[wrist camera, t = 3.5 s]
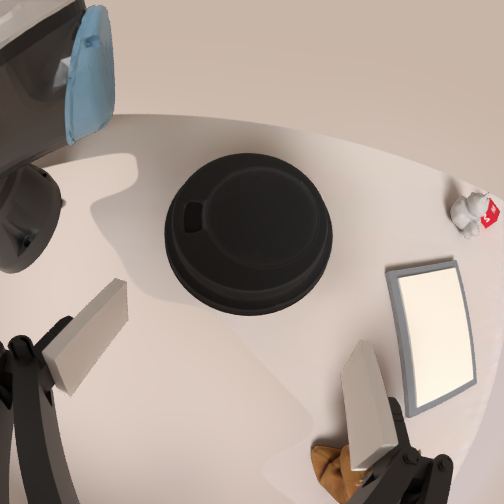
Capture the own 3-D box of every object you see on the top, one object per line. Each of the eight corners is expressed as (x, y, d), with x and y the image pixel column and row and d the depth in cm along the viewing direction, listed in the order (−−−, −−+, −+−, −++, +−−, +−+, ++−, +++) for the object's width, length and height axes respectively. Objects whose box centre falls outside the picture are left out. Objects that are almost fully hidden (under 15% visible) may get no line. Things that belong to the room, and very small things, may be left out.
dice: (479, 206, 34) (490, 197, 32) (489, 219, 34) (500, 211, 31) (475, 214, 34) (486, 206, 31) (485, 228, 33) (496, 220, 30)
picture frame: (384, 273, 29) (389, 270, 28) (452, 262, 30) (457, 259, 29) (405, 417, 23) (410, 418, 22) (472, 383, 24) (478, 383, 23)
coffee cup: (179, 269, 28) (131, 186, 14) (258, 227, 30) (277, 124, 16) (225, 351, 25) (213, 349, 11) (307, 302, 28) (376, 246, 14)
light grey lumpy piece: (464, 208, 34) (495, 182, 26) (472, 247, 31) (507, 224, 24) (441, 200, 34) (472, 171, 26) (449, 241, 31) (485, 216, 24)
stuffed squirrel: (394, 408, 24) (479, 425, 11) (391, 504, 19) (453, 546, 7) (308, 431, 23) (363, 482, 11) (312, 529, 18) (350, 594, 6)
